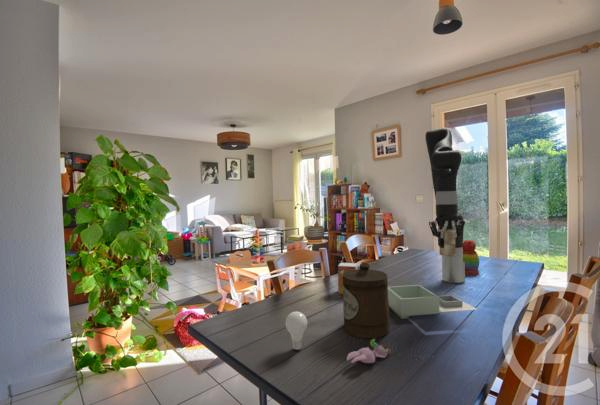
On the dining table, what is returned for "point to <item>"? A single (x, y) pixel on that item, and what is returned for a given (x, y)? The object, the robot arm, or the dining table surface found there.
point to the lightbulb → (296, 328)
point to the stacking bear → (470, 258)
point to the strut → (448, 243)
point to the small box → (341, 269)
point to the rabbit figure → (368, 353)
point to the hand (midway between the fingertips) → (447, 247)
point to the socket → (453, 304)
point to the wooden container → (366, 302)
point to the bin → (412, 301)
